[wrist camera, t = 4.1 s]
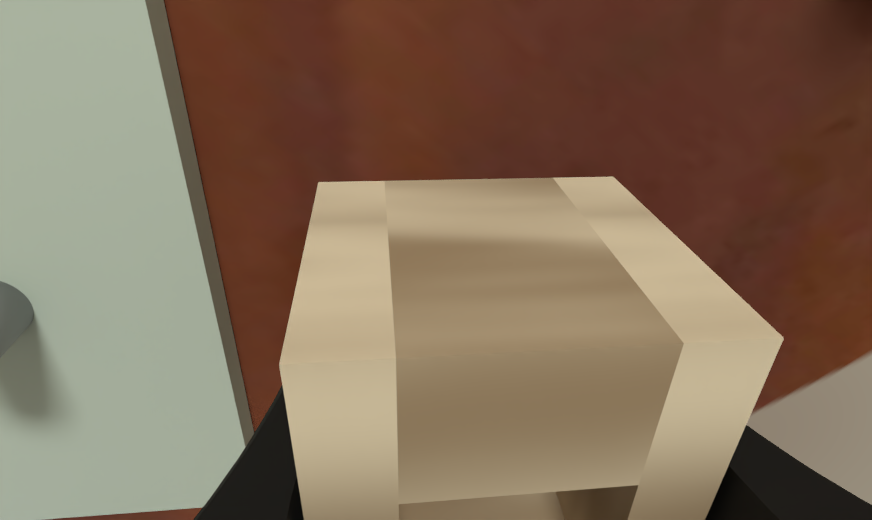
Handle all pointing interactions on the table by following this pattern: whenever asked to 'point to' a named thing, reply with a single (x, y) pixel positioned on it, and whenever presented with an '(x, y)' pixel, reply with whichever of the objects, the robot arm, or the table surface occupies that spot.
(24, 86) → the pin base
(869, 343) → the table surface
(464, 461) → the collar block
